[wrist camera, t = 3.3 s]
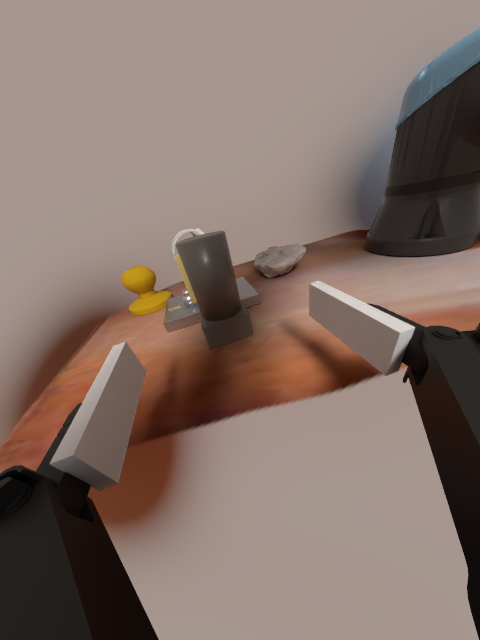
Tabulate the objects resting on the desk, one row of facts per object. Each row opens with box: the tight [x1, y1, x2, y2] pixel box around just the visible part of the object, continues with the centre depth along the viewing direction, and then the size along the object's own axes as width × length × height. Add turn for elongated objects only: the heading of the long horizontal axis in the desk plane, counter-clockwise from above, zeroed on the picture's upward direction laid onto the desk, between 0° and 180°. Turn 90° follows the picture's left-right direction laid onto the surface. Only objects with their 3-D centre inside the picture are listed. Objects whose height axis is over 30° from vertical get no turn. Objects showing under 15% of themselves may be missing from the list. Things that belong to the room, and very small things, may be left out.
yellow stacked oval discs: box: [122, 266, 172, 316], centre depth 34 cm, size 8×8×8 cm
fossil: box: [254, 245, 306, 278], centre depth 36 cm, size 9×6×10 cm
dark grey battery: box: [174, 231, 253, 349], centre depth 20 cm, size 5×5×11 cm
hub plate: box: [163, 277, 261, 332], centre depth 29 cm, size 14×9×4 cm, turn 105°
